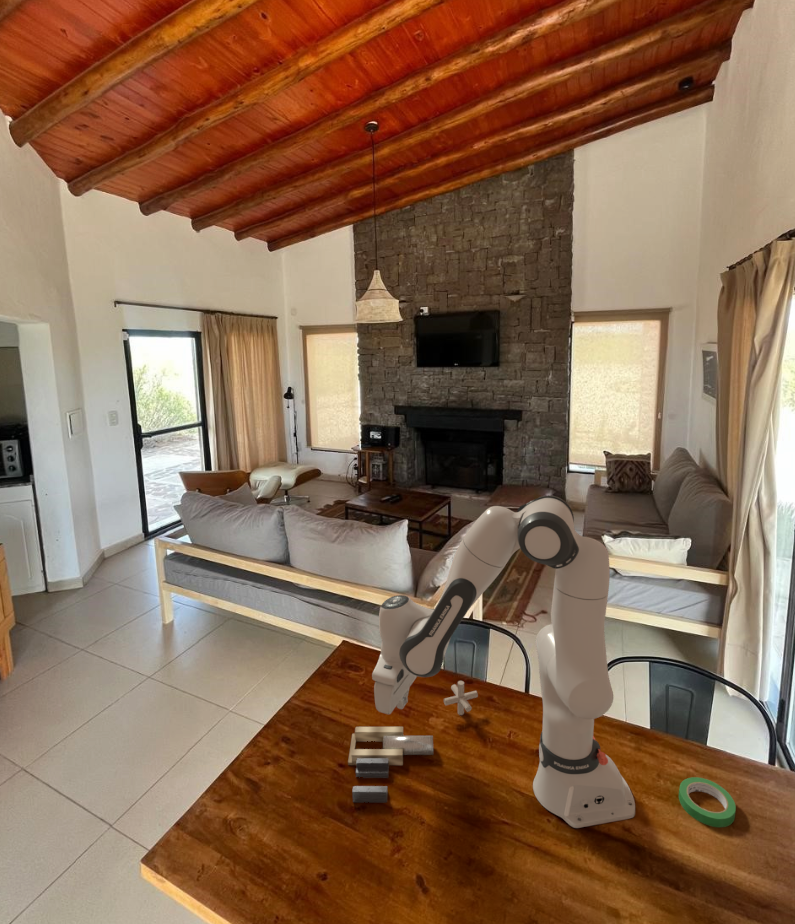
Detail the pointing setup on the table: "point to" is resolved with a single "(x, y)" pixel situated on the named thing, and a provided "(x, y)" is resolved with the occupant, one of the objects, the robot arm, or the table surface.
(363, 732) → the beige u-shaped bracket
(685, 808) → the tape roll
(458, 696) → the pipe connector
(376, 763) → the dark blocks
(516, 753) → the table surface
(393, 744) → the axle
